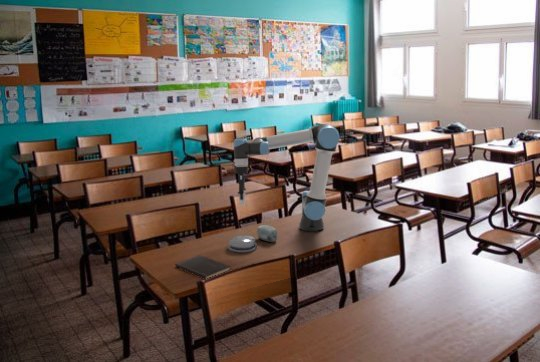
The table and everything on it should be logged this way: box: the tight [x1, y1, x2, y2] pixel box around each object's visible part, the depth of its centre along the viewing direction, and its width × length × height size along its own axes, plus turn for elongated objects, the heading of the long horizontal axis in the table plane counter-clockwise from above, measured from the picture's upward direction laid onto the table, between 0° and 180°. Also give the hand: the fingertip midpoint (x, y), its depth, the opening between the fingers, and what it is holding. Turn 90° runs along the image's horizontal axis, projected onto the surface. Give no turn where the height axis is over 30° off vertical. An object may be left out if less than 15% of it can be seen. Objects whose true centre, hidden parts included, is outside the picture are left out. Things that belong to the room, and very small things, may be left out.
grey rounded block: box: [256, 224, 278, 243], centre depth 295 cm, size 14×10×10 cm
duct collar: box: [227, 235, 258, 254], centre depth 283 cm, size 16×16×5 cm
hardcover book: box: [175, 254, 231, 280], centre depth 256 cm, size 16×23×2 cm
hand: (242, 203), depth 293 cm, fingers open, 13 cm apart
